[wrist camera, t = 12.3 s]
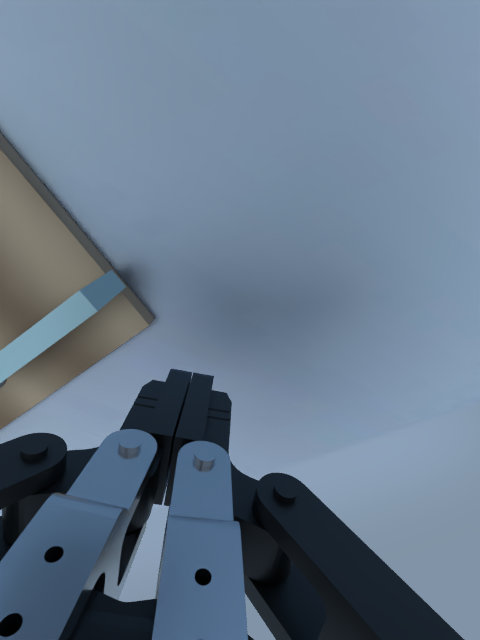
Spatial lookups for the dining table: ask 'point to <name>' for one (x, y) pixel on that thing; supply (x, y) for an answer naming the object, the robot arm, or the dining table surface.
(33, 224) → the socket board
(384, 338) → the dining table surface
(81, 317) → the bar
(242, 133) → the dining table surface
